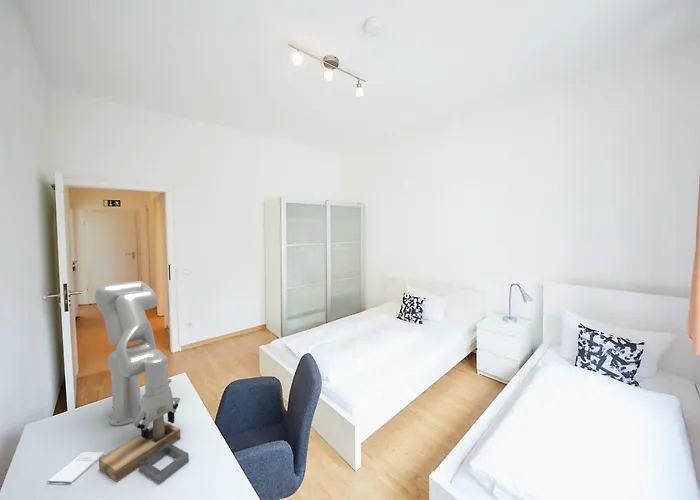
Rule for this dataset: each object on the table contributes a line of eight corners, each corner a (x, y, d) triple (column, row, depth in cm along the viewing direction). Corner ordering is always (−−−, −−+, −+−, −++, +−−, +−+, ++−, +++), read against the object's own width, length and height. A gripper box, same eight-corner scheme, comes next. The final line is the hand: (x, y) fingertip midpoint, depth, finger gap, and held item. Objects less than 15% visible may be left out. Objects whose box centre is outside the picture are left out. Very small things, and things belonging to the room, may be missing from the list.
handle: (157, 449, 109) (155, 412, 108) (148, 443, 112) (146, 407, 111) (170, 441, 114) (169, 405, 112) (161, 435, 117) (159, 400, 115)
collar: (138, 470, 100) (138, 462, 99) (168, 450, 109) (168, 442, 109) (159, 484, 95) (158, 475, 95) (188, 461, 104) (188, 453, 104)
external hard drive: (47, 485, 94) (82, 455, 107) (71, 486, 94) (104, 456, 107) (46, 480, 94) (82, 451, 106) (71, 481, 94) (104, 452, 106)
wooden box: (99, 469, 100) (98, 458, 100) (163, 429, 120) (163, 420, 119) (116, 482, 95) (116, 470, 95) (180, 438, 115) (180, 429, 115)
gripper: (173, 375, 121) (174, 414, 122) (126, 397, 105) (128, 441, 106) (184, 379, 117) (185, 419, 119) (138, 402, 102) (140, 447, 103)
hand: (158, 429), depth 113 cm, fingers open, 9 cm apart
